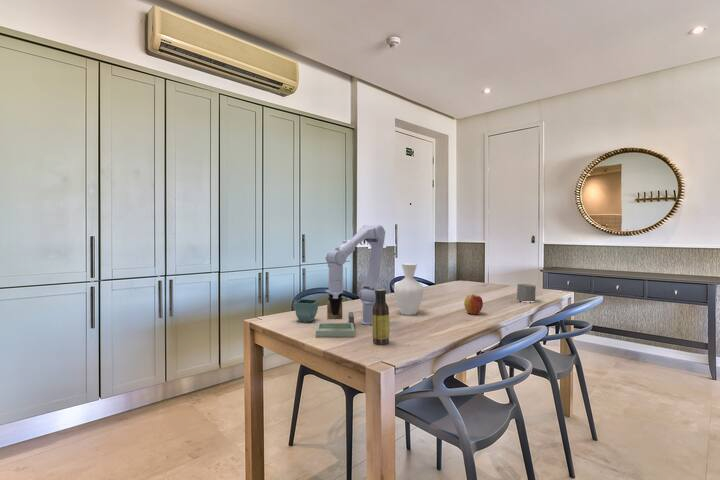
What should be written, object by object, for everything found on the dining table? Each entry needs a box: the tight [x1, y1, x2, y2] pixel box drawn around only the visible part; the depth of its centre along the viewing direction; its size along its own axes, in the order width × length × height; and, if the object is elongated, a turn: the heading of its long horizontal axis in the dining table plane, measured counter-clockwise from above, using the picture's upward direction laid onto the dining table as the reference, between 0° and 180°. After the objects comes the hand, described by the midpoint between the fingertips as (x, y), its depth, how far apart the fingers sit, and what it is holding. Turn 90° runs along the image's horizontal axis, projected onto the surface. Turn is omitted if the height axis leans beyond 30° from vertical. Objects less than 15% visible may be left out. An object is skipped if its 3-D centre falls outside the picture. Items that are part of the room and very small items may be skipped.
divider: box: [347, 311, 355, 327], centre depth 162 cm, size 2×8×5 cm, turn 4°
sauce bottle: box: [372, 288, 390, 345], centre depth 139 cm, size 6×6×20 cm
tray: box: [315, 322, 355, 338], centre depth 151 cm, size 15×12×2 cm
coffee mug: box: [516, 283, 536, 302], centre depth 223 cm, size 13×10×10 cm
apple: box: [463, 294, 484, 315], centre depth 188 cm, size 9×9×10 cm
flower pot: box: [294, 298, 320, 323], centre depth 170 cm, size 9×9×9 cm
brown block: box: [326, 300, 343, 320], centre depth 150 cm, size 6×6×6 cm
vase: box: [394, 262, 424, 316], centre depth 187 cm, size 14×14×25 cm
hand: (335, 313), depth 150 cm, fingers closed on brown block, 6 cm apart
